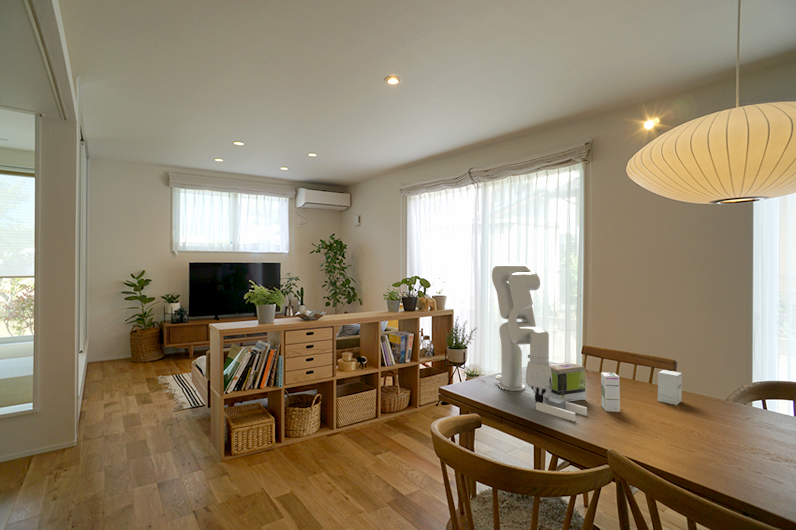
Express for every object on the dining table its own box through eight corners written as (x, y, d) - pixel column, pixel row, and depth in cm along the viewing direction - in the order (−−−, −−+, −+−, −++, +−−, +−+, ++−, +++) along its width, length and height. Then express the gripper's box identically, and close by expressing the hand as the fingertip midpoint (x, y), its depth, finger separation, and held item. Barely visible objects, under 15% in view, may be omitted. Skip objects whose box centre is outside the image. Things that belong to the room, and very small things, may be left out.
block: (547, 410, 164) (547, 399, 164) (553, 408, 167) (553, 397, 167) (558, 414, 160) (558, 403, 160) (565, 411, 163) (565, 400, 163)
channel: (535, 409, 165) (535, 402, 165) (549, 404, 171) (549, 396, 171) (573, 421, 152) (573, 413, 152) (586, 415, 159) (586, 407, 159)
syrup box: (620, 412, 162) (620, 376, 162) (604, 411, 163) (604, 375, 163) (615, 407, 167) (615, 372, 167) (600, 406, 169) (600, 371, 169)
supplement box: (677, 405, 170) (677, 375, 169) (657, 401, 175) (657, 372, 175) (682, 401, 174) (682, 372, 174) (662, 397, 180) (662, 369, 180)
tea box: (569, 393, 186) (569, 361, 186) (586, 400, 176) (586, 366, 176) (542, 396, 181) (542, 363, 181) (557, 404, 172) (557, 369, 172)
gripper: (518, 357, 173) (518, 400, 173) (550, 364, 161) (550, 410, 161) (528, 355, 178) (528, 396, 178) (560, 361, 166) (560, 405, 166)
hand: (539, 402), depth 169 cm, fingers closed
